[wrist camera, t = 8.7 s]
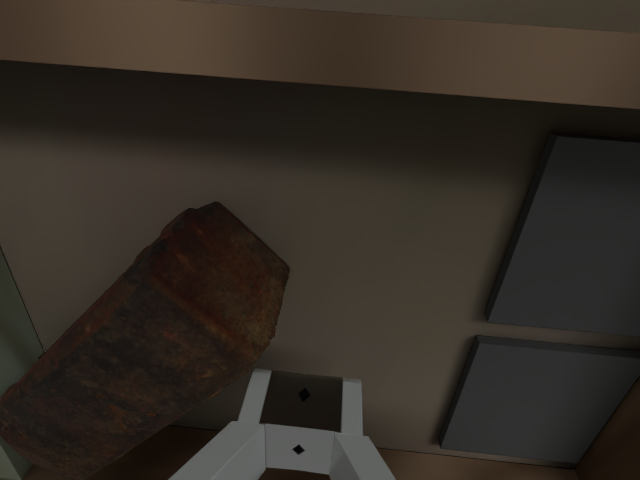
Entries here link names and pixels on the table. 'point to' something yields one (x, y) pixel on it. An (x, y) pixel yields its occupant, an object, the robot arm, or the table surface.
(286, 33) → the box
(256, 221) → the table surface
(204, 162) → the table surface
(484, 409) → the trap pits
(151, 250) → the brick
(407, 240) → the table surface
